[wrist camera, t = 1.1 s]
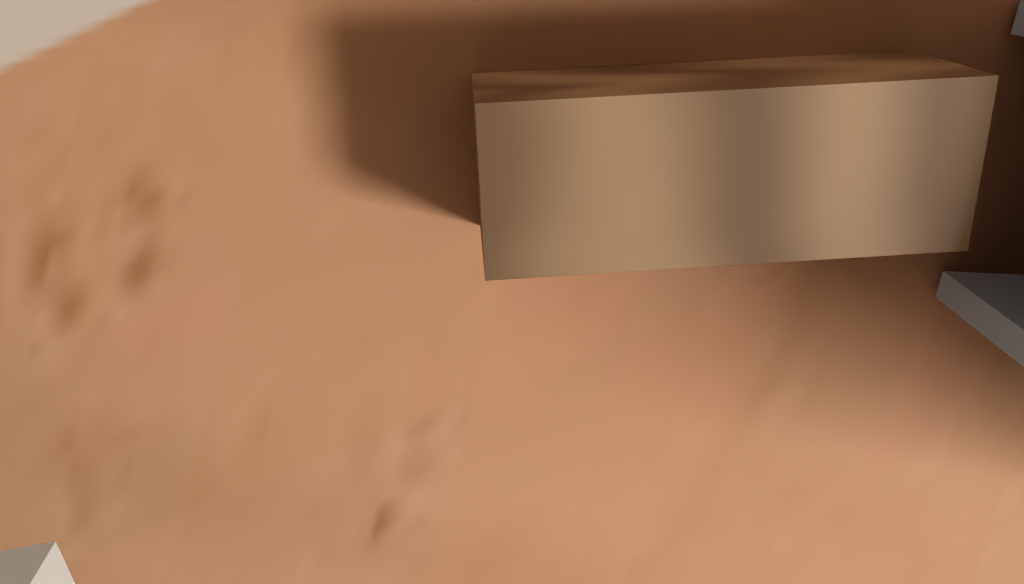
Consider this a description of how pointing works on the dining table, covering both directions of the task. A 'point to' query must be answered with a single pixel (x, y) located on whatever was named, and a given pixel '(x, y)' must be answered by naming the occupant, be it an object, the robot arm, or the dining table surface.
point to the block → (990, 290)
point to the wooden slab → (727, 162)
